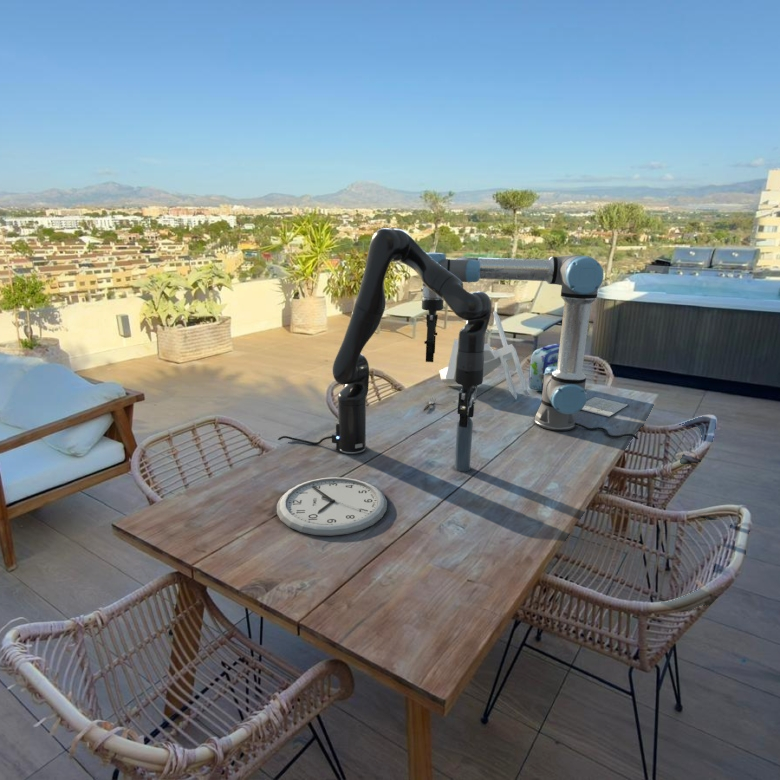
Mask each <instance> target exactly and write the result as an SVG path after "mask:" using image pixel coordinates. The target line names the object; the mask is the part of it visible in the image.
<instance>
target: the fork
mask: <svg viewBox="0 0 780 780" xmlns="http://www.w3.org/2000/svg"><path fill="white" fill-rule="evenodd" d="M436 400H437V397H436V396H432V395H431V396H430V399H429V401H428V404H426V405H425V407H424V409H423V411H422V412H424V411H426V410H428V408H429V407H430V406H431V405H433V404H435V403H436Z"/></svg>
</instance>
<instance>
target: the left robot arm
mask: <svg viewBox="0 0 780 780" xmlns="http://www.w3.org/2000/svg"><path fill="white" fill-rule="evenodd" d="M427 253H428V252H426V251H425V250H424V249H423V248H422V247H421V246H420V245H419V244H418V243H417V242H416V241H415V240H414V238H412V237H411V235H409V234H408V233H407V232H406V231H405V230H403V229H400V228H389V227H388V228H387V227H386V228H384V227H383V228H380V229H377V231H375V232H374V234H373V235H372V237H371V239H370V242H369V248H368V252H367V257H366V262H365V267H364V271H363V275H362V278H361V281H360V286H359V290H358V293H357V296H356V299H355V302H354V304H353V308H352V311H351V314H350V319H349V322H348V325H347V327H346V331H345V334H344V337H343V340H342V342H341V345H340V347H339V350H338V351H337V354H336V356H335V358H334V361H333V365H332V376H333V379H334V380H335V382H336V383H337V384H339V385H341V386H343V385H344V386H343V388H342V389H341V390H340V391H339V392H338V394H337V420H338V421H337V423H336V424H335V431H334V433H332V434H331V435H330V436H329V435H328V436H325V437H322V438H321V439H320V440H319V441H311V440H310V441H309V440H307V439H301V438H297V437H293V436H288V435H281V436H279V438H277V441H281V440H283V439H288V440H292V441H297V442H301V443H306V444H310V445H319V444H321V443H322V442H323V441H325V440H329V439H330V440H331V443H332V444H335V450H336V451H338V452H340V453H342V454H345V455H359V454H362V453H363V452H366V449H367V441H366V440H367V436H366V435H367V433H366V431H367V429H366V428H367V426H366V425H367V424H366V423H367V413H366V412H367V411H366V410H367V409H366V407H367V405H366V404H367V401H366V400H367V396H368V393H369V387H370V386H369V383H370V365H369V362H368V359H367V357H366V356H365V355H364V354H362V351H363V349H364V347H365V346H366V344H368V342H369V341H370V340H371V338H372V337H373V335H374V334H375V333H376V331H377V330H378V328H379V327H380V324H381V322H382V319H383V316H384V313H385V310H386V307H387V306H386V305H387V299H386V298H387V297H386V292H385V291H386V290H385V278H386V275H387V272H388V269H389V266H390V265H391V263H395V262H396V263H397V262H399V263H402V264H403V265H406V266H408V267H409V268H411V269H412V270H413V271H414V272H415V273H416V274H417V275H418V277H419V278H420V280H421V281H422V284H423V283H424V284H425V285H426V286H427V287H428V288H429V289H430V290H431V291H432V292H434V293H435V294H436V295H438V296H439V297H440V298H442V299H443V302H445V304H446V305H447V306H448V307H449V309H450V310H451V311H452V313H454V315H456V317H458V318H460V319H462V320H464V321H465V325H464V327H463V328H461V329H460V330H459V332H458V338H457V339H458V352H457V358H456V375H455V381H456V383H458V384H457V385H461V389H460V390H459V392H458V401H457V411H456V412H457V414H458V415H459V418H460V419H459V418H458V420H459V426H460V427H465V428H466V427H467V426H468V417H471V418H473V417H474V414H475V413H474V412H475V405H476V401H477V394H478V393H477V392H478V386H480V385H482V384H483V382H484V377H483V370H484V344H485V343H486V342H485V339H486V338H485V337H486V332H487V330H488V327H489V323H490V320H491V315H492V307H493V305H492V301H491V298H490V296H489V295H488V294H487V293H486V292H484V291H473V292H470V291H467V290H466V289H465V288H464V282H462V281H461V280H460V279H459V278H458V277H456V276H455V275H454V274H452V273H451V272H449V271H448V270H447V269H445V268H444V267H442V266H441V265H440V264H438V263H437V262H436V261H435V260H433V259H432V258H431V257H430V256H429V255H428V254H427ZM462 407H465V410H462Z"/></svg>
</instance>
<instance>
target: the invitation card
mask: <svg viewBox="0 0 780 780" xmlns="http://www.w3.org/2000/svg"><path fill="white" fill-rule="evenodd" d="M628 406H629V404H627V403H623V402H618V401H614V400H609V399H605V398H601V397H596V396H593V397H592V398H590V399H587V401H586V404H585V406H584V407H583V408H582V409H581V410H580V411H584V412H587V413H593V414H596V415H600V416H604V417H608V418H609V417H611V416H613V415H614V414H616V413H617V412H619V411H621V410H623V409H624V408H626V407H628Z"/></svg>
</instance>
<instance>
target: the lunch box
mask: <svg viewBox="0 0 780 780" xmlns="http://www.w3.org/2000/svg"><path fill="white" fill-rule="evenodd" d="M559 346H560V343H559V344H558V343H553V344H548V345H546V346H542V347H540V348H537V349H535V350H534V351H533V352H532V354H531V357H530V362H529V374H528V375H529V376H528V387H529V388H528V389H530V390H534V391H539V392H541V393H542V392H543V382H544V373H545V369H546V368H547V367H553V366H557V364H558V355H559Z"/></svg>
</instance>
